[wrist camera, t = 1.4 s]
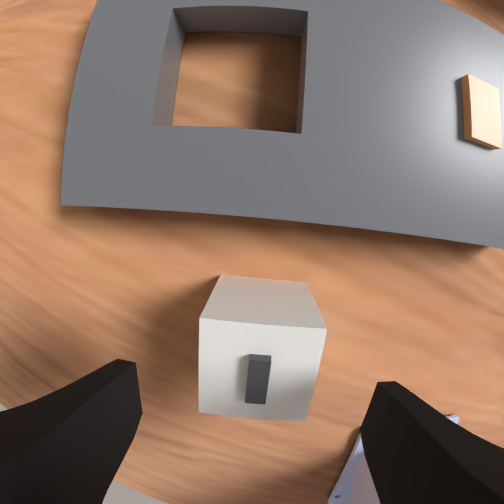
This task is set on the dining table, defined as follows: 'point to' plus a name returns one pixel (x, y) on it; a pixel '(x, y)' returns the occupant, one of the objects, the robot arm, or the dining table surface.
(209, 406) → the block
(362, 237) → the dining table surface
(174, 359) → the dining table surface
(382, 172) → the grey square-hole board
